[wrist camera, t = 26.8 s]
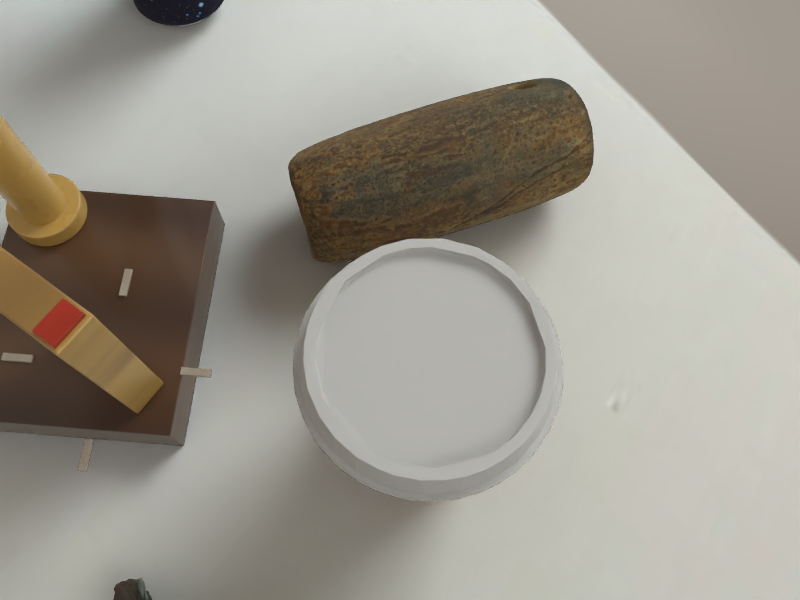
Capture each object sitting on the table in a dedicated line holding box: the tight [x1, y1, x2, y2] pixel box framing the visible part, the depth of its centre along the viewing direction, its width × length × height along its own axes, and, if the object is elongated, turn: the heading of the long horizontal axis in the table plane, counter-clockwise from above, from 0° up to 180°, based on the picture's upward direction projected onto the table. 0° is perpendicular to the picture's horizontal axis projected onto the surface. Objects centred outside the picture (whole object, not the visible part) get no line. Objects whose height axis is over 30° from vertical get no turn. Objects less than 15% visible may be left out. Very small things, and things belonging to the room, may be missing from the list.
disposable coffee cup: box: [293, 238, 563, 501], centre depth 31 cm, size 10×10×12 cm
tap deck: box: [0, 191, 225, 472], centre depth 36 cm, size 14×11×3 cm
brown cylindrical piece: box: [288, 78, 594, 263], centre depth 38 cm, size 15×7×7 cm, turn 112°
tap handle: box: [0, 246, 163, 413], centre depth 30 cm, size 6×2×9 cm, turn 55°
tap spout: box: [0, 115, 87, 246], centre depth 32 cm, size 10×4×13 cm, turn 176°
